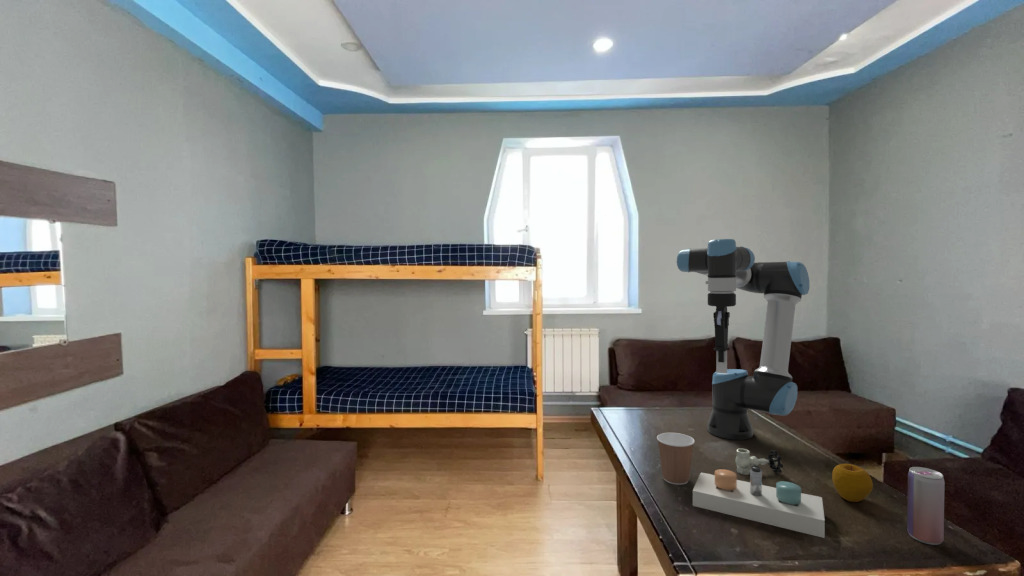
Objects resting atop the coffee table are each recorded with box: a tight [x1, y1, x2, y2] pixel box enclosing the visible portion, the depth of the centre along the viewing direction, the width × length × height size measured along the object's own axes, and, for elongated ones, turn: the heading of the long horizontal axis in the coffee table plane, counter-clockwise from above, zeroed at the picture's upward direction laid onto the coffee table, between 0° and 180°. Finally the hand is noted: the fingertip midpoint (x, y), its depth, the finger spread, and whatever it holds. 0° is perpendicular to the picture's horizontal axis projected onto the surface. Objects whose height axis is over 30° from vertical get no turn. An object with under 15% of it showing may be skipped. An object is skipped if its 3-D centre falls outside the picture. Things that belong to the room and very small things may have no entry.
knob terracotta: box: [714, 468, 738, 492], centre depth 118 cm, size 5×5×7 cm
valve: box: [734, 448, 784, 476], centre depth 135 cm, size 7×7×12 cm
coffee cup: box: [656, 432, 696, 486], centre depth 131 cm, size 10×10×12 cm
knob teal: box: [775, 481, 802, 506], centre depth 110 cm, size 5×5×7 cm
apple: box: [831, 463, 874, 503], centre depth 118 cm, size 8×8×9 cm
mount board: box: [692, 472, 826, 539], centre depth 114 cm, size 12×28×4 cm, turn 58°
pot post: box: [749, 465, 763, 496], centre depth 114 cm, size 3×3×7 cm
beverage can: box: [906, 466, 945, 546], centre depth 101 cm, size 6×6×15 cm
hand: (721, 372), depth 133 cm, fingers closed
